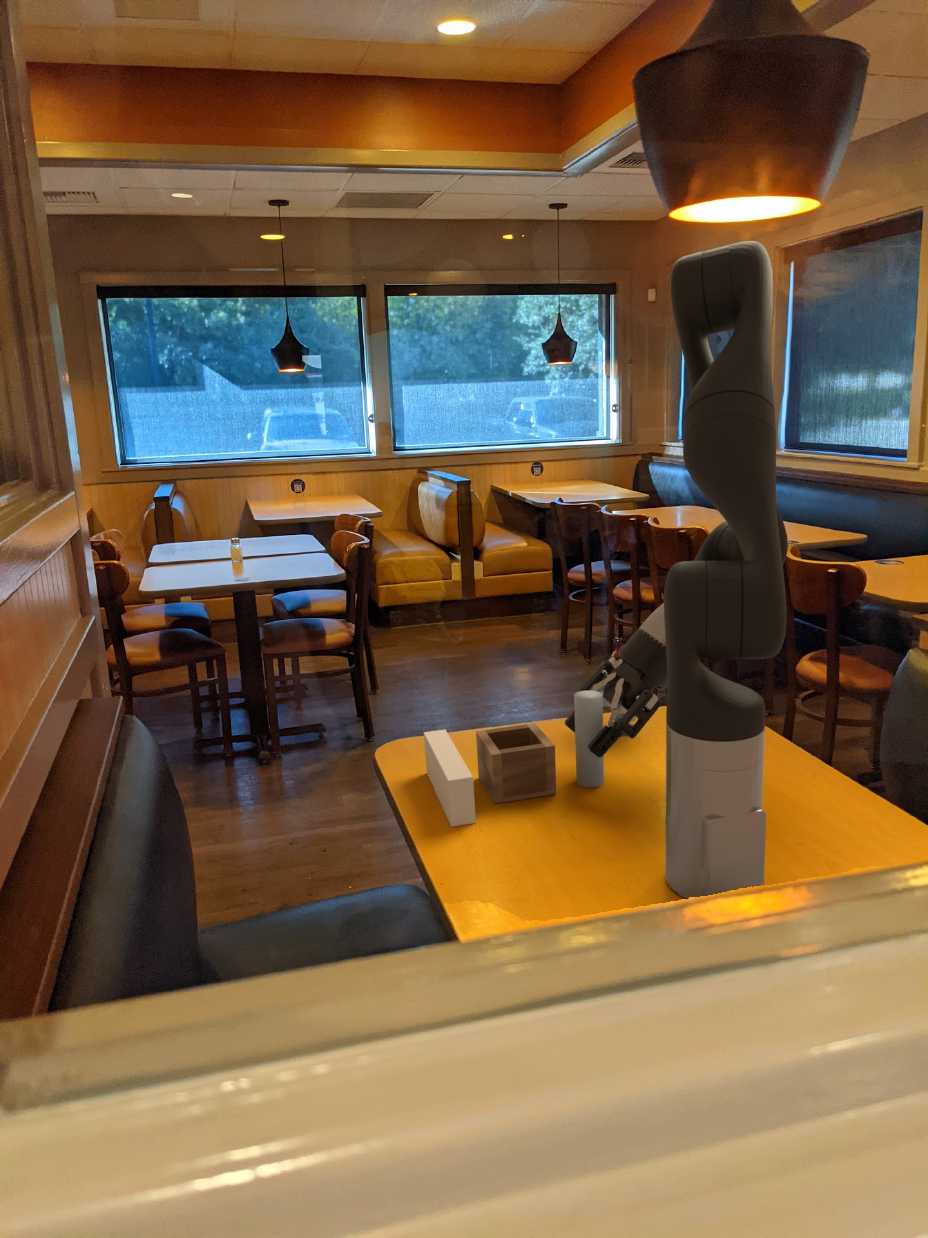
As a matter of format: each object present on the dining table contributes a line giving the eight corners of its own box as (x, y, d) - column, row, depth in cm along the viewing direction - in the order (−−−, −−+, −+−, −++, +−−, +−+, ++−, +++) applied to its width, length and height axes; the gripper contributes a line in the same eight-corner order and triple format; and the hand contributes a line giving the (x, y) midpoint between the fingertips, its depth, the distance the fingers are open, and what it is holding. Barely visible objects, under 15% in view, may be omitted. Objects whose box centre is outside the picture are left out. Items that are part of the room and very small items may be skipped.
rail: (475, 823, 100) (473, 777, 98) (451, 827, 99) (448, 780, 98) (447, 769, 115) (445, 729, 114) (426, 773, 114) (423, 732, 113)
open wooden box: (556, 793, 106) (554, 745, 104) (494, 803, 104) (491, 754, 103) (536, 768, 114) (534, 723, 112) (478, 777, 112) (476, 731, 110)
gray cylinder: (608, 785, 108) (607, 697, 105) (582, 789, 107) (580, 701, 104) (597, 774, 111) (596, 689, 108) (572, 778, 110) (570, 692, 107)
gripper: (621, 615, 112) (543, 705, 113) (669, 642, 99) (580, 745, 100) (657, 648, 115) (581, 736, 115) (709, 678, 101) (622, 779, 102)
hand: (581, 740), depth 107 cm, fingers open, 8 cm apart
